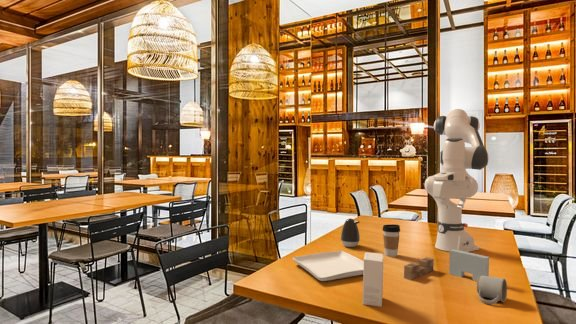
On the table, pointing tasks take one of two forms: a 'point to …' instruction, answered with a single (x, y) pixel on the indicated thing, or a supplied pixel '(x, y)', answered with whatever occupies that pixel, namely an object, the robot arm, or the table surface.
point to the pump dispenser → (350, 233)
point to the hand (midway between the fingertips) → (453, 208)
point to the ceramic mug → (492, 289)
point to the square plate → (331, 265)
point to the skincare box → (373, 279)
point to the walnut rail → (418, 268)
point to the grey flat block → (468, 264)
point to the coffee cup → (391, 239)
